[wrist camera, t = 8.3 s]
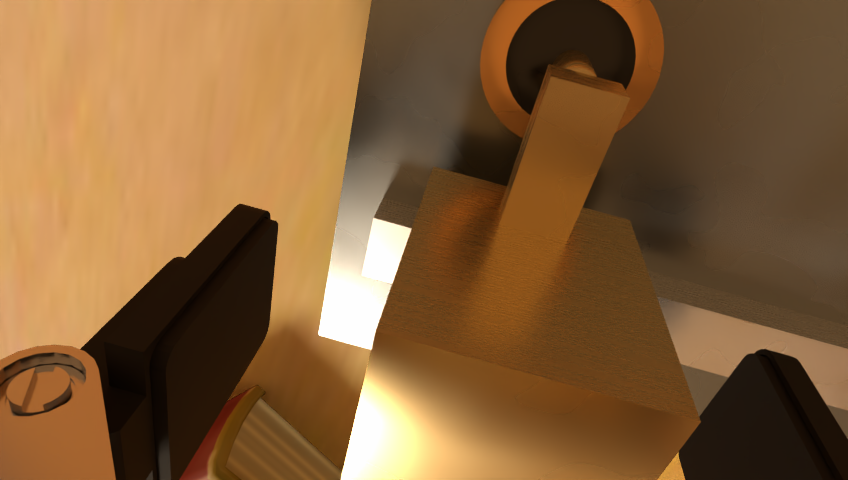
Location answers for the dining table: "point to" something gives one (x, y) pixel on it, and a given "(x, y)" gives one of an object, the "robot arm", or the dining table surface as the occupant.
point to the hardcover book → (256, 446)
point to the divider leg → (525, 321)
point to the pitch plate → (629, 159)
